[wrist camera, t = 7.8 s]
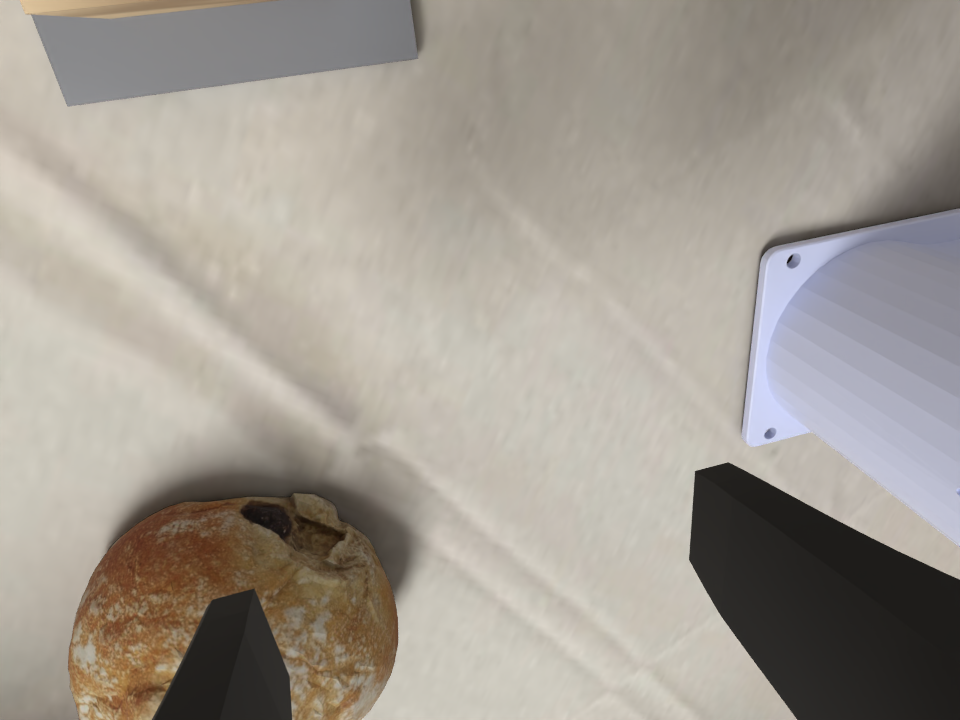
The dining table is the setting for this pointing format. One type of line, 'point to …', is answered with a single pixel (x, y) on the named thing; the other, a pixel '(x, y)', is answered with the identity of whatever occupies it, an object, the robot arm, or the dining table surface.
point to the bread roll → (228, 570)
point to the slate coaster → (221, 45)
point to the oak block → (121, 7)
